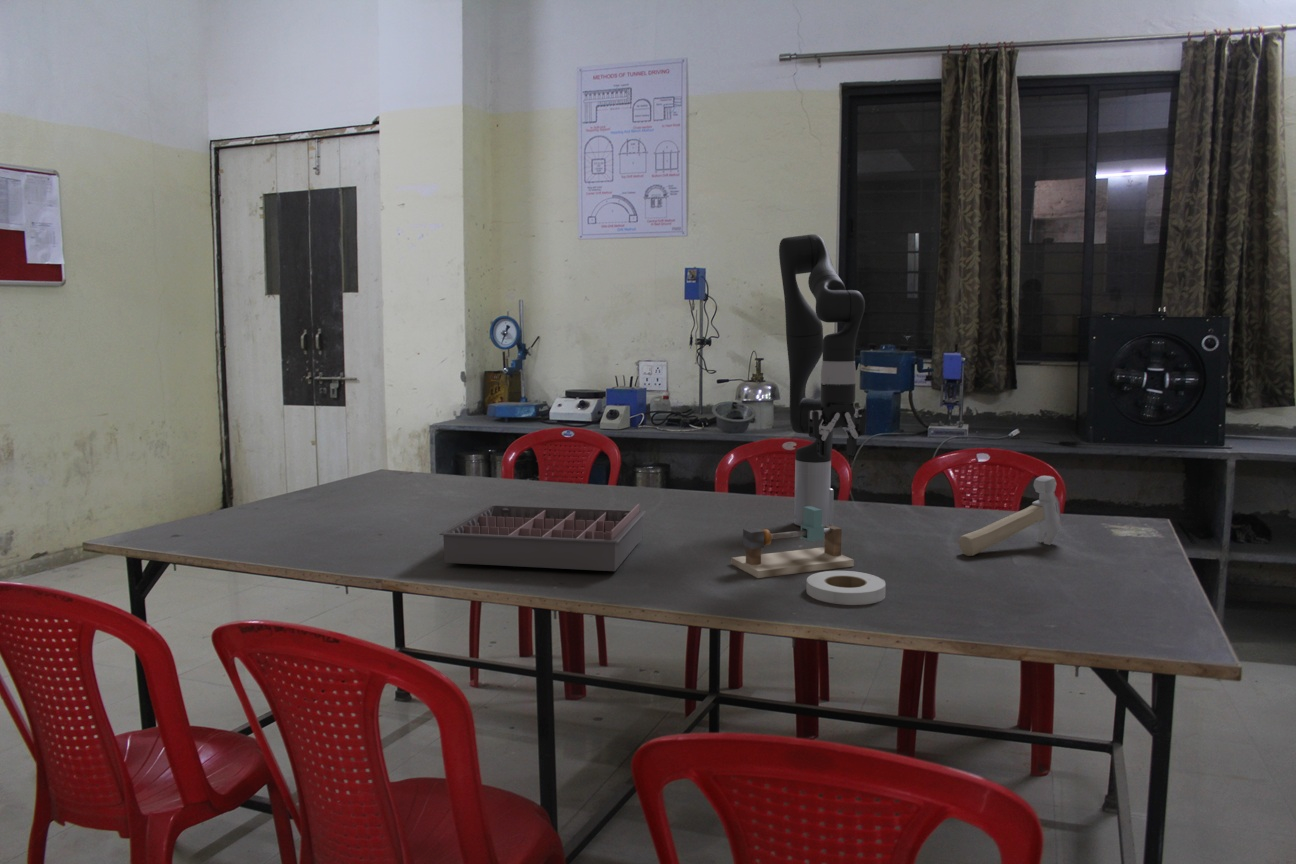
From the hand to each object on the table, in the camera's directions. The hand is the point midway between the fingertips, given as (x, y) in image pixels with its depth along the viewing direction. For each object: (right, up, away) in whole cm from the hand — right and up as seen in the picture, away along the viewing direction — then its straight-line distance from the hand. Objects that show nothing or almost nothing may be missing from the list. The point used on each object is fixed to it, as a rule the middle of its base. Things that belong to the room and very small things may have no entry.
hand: (836, 455), depth 208 cm
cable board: (-10, -24, -1) cm, 26 cm away
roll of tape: (-3, -27, -22) cm, 35 cm away
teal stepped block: (-5, -19, 0) cm, 19 cm away
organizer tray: (-65, -23, +8) cm, 70 cm away
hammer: (+44, -23, +14) cm, 51 cm away
